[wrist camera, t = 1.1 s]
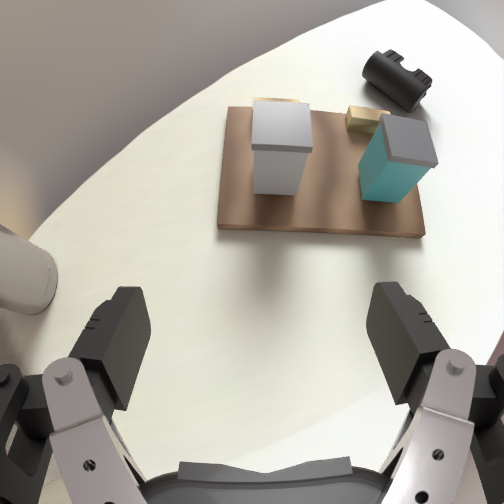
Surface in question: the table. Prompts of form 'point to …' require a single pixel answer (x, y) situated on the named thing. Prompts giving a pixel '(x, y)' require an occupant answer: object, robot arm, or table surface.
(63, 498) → the travel mug
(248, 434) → the table surface
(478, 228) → the table surface
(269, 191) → the grey key
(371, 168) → the teal key
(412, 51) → the table surface
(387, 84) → the end cap
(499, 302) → the table surface
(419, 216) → the key base
